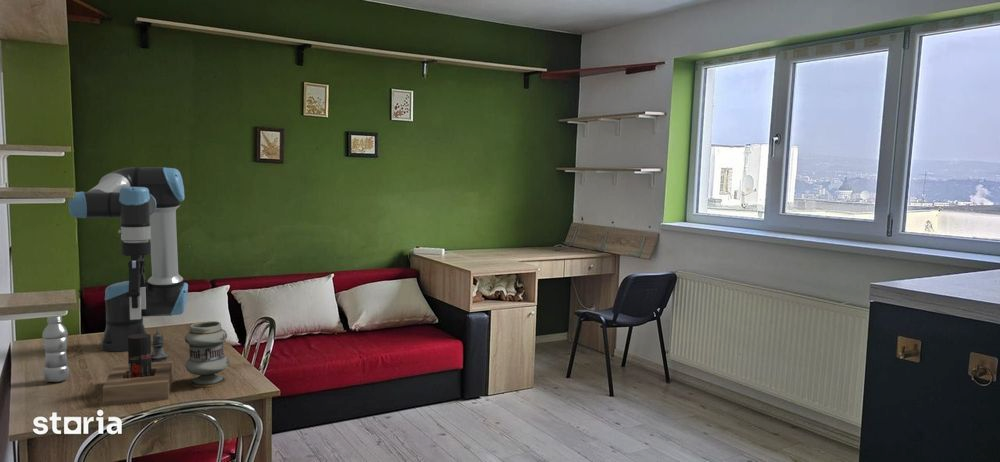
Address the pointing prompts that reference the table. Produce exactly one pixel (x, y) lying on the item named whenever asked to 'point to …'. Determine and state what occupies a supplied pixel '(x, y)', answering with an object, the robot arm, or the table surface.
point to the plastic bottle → (55, 350)
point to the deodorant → (139, 355)
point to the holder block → (138, 384)
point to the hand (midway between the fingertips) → (138, 314)
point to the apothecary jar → (206, 353)
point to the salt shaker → (158, 349)
